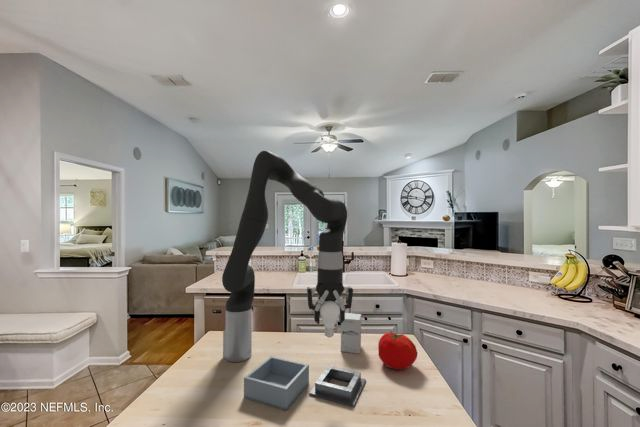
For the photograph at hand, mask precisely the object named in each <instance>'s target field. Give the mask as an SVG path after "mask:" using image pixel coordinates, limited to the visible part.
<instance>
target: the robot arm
mask: <svg viewBox="0 0 640 427" xmlns="http://www.w3.org/2000/svg"><path fill="white" fill-rule="evenodd" d="M250 177H251V178H250V183H249V186H248V193H247V196H246V200H245V202H244V203H245V204H244V206H243V210H242V213H241V216H240V220H239V222H238V228H237V231H236V235H235V239H234V242H233V245H232V250H231V252H230V255H229V258H228V260H227V262H226V265H225V266H224V267H225V268H224V269H223V273H222V276H221V277H222V278H221V282H222V285H223V288H224V289H225V290H226V291H227V292H229V293H230V295H229V297H228V299H227V300H226V302H225V329H223V331H222V334H223V336H222V358H224V359H225V360H226V361H227V362H231V363H237V362H243V361H246V360H248V359H250V358H251V357H252V353H253V352H252V347H253V346H252V345H253V344H252V337H253V335H252V334H253V331H252V330H253V328H252V327H253V326H252V325H253V324H252V323H253V321H252V320H253V301H254V299H255V286H256V285H255V284H256V275H255V272H254V268H253V267H252V266H251V265H249V263H250V260H251V257H252V255H253V254H254V251H255V249H256V248H257V247H258V244H259V243H260V241H261V240H262V238H263V236H264V233H265V230H266V226H267V223H268V220H269V211H268V210H269V209H268V205H267V199H266V188H267V183H268V180H270V181H275V182H277V183H280V184H281V185H284V186H285V187H286V188H288V189H289V191H290V193H291V195H292V196H293V197H294V198H295V199H296V200H297V201H299V202H300V203H301V204H303V205H304V206H305V207H306V208H307V209H308V211H309V212H310V214H311V215H312V216H313V217H314V219H316V220H317V221H319V222H321V223H323V224H324V223H325V224H327V225H326V228H325V230H323V231H322V232H320V233H319V235H318V255H317V283H316V286H315V287H310V286H308V287H306V294H307V295H306V296H307V307H308V309H309V310H313V312H314V313H313V318H314V323H316V324H317V325H320V318H321V316H320V311H319V309H320V307H321V305H322V304H323V302H324V301H336V302H337V303H338V304H339V306H340V315H339V317H338V321H339V322H338V323H340V324H341V323H343V321H344V320H345V313H346V310H347V309H351V308H352V302H353V296H354V294H353V293H354V289H353V287H352V286H350V285H349V286H344V285H343V283H344V282H343V277H344V276H343V272H344V271H343V270H344V269H343V268H344V260H343V259H344V258H343V257H344V256H343V236H344V233H345V229H346V225H347V220H348V209H347V206H346V204H345V203H344V202H343V201H341V200H339V199H330V198H327V197H325V195H324V191H323V190H321V189H320V188H319V187H318V186H316V184H313V183H312V182H311V181H309V180H308V179H306V178H304V177H303V176H302V175H300V174H299V173H298V172H297V171H296V170H295V169H294V168H293V167H292V166H291V165H290V164H289V163H288V162H287V161H286V159H284V158H283V157H282V156H280V155H278V154H276V153H274V152H271V151H269V150H261V151H260V152H259V153H258V154H257V155H256V157H255V160H254V162H253V166H252V172H251V176H250ZM315 292H317V294H318V298H317V299H316V301H315V303H313V296H314V294H315ZM343 293H345V295H346V297H345V303H343V301H342V299H341V296H342V294H343Z"/></svg>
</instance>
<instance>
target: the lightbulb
mask: <svg viewBox="0 0 640 427" xmlns="http://www.w3.org/2000/svg"><path fill="white" fill-rule="evenodd" d="M319 311H320V318H321V320H322V321H323V326H324V336H325V337H327V338H328V339H329V338H331V337H334V335H335V334H334V333H335V326H336V321H337V320H339V315H340V306H339V304H338V302H337V300H335V301H324V302H323V304H322V305H321V307H320V309H319Z"/></svg>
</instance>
